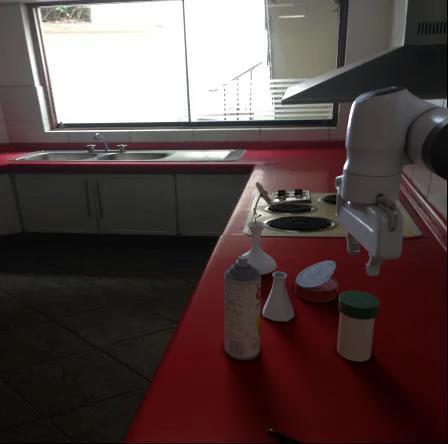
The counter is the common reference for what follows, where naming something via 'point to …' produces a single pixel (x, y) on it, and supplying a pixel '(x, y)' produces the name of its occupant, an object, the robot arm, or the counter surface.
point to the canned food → (317, 282)
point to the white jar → (355, 338)
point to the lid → (358, 305)
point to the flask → (278, 300)
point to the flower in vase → (256, 254)
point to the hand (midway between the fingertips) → (361, 263)
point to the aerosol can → (242, 310)
